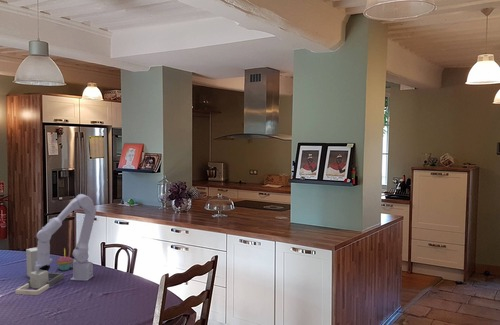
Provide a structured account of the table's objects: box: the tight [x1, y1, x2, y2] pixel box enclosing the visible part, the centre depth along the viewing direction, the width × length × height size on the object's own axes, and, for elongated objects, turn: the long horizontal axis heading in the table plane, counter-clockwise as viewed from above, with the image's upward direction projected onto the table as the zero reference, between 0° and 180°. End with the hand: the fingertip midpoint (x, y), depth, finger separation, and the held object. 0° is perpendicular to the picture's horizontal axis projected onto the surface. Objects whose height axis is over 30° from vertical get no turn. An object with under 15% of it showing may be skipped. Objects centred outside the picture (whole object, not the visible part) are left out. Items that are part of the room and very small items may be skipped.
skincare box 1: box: [25, 246, 37, 278], centre depth 236 cm, size 8×6×15 cm
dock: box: [26, 272, 64, 288], centre depth 228 cm, size 11×15×2 cm
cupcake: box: [56, 248, 74, 271], centre depth 250 cm, size 9×8×12 cm
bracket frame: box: [14, 282, 50, 296], centre depth 214 cm, size 11×10×2 cm
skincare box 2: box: [29, 269, 50, 290], centre depth 220 cm, size 6×6×7 cm
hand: (43, 280), depth 225 cm, fingers closed, pressing on skincare box 2
